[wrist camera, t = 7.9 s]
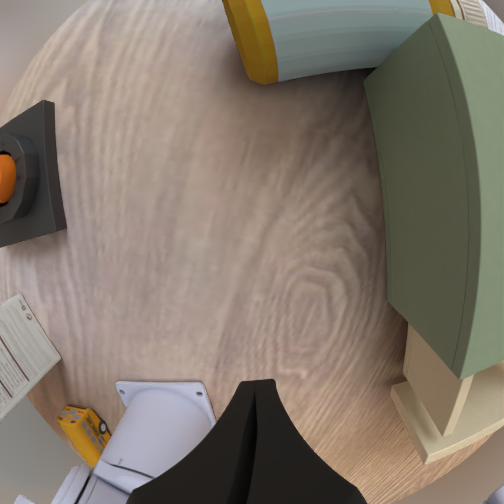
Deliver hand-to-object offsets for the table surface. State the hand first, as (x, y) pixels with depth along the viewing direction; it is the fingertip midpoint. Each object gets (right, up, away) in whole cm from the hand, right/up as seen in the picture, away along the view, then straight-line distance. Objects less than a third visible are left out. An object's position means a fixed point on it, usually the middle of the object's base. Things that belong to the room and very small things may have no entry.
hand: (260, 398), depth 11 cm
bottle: (-1, +17, +1) cm, 17 cm away
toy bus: (-16, -13, +13) cm, 25 cm away
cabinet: (+14, +11, +6) cm, 18 cm away
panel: (-19, +12, +7) cm, 23 cm away
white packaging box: (-22, -2, +10) cm, 25 cm away
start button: (-19, +11, +4) cm, 22 cm away
